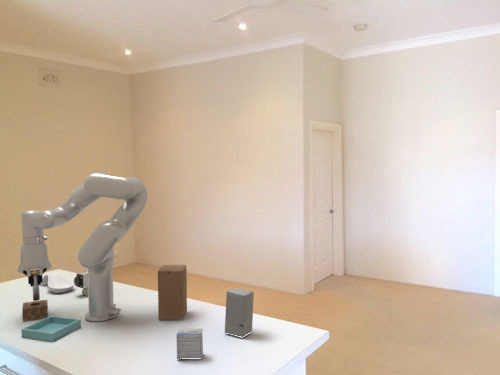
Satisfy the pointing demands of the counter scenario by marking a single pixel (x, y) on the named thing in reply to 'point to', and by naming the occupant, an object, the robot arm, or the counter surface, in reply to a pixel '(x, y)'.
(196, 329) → the medicine box
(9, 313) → the counter surface
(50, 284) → the spoon rest
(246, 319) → the skincare box
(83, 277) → the pneumatic valve
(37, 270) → the lock pin
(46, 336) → the tray
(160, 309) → the wooden block
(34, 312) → the block
